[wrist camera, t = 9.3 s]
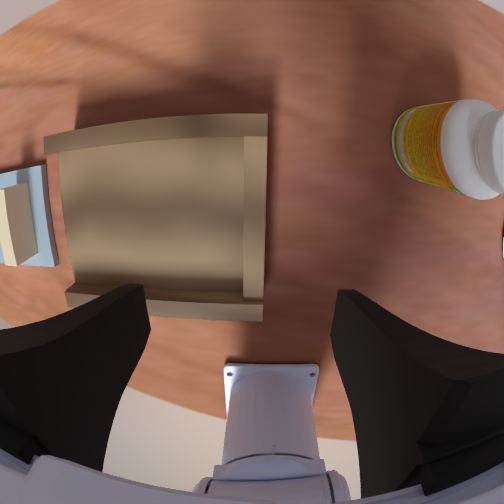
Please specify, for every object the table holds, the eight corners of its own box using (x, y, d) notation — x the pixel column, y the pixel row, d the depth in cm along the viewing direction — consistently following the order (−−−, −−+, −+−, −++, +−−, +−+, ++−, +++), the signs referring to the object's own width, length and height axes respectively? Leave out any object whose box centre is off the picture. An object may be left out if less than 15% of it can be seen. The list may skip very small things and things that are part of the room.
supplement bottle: (398, 188, 19) (488, 226, 9) (380, 113, 17) (469, 96, 8) (455, 173, 18) (549, 201, 9) (440, 103, 16) (536, 94, 7)
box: (262, 294, 21) (262, 321, 18) (90, 285, 22) (68, 306, 18) (266, 120, 17) (267, 113, 14) (73, 135, 18) (44, 136, 14)
